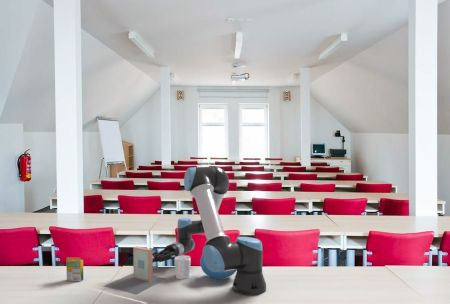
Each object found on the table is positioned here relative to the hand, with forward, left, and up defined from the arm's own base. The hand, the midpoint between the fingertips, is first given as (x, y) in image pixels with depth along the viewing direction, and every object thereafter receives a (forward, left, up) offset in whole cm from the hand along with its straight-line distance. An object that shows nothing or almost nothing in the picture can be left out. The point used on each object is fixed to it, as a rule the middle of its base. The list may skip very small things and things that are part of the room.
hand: (144, 262), depth 194 cm
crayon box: (+28, +18, -8) cm, 35 cm away
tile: (-1, +2, -7) cm, 8 cm away
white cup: (-16, -10, -8) cm, 20 cm away
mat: (-1, +7, -8) cm, 10 cm away
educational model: (-31, -19, -8) cm, 38 cm away
